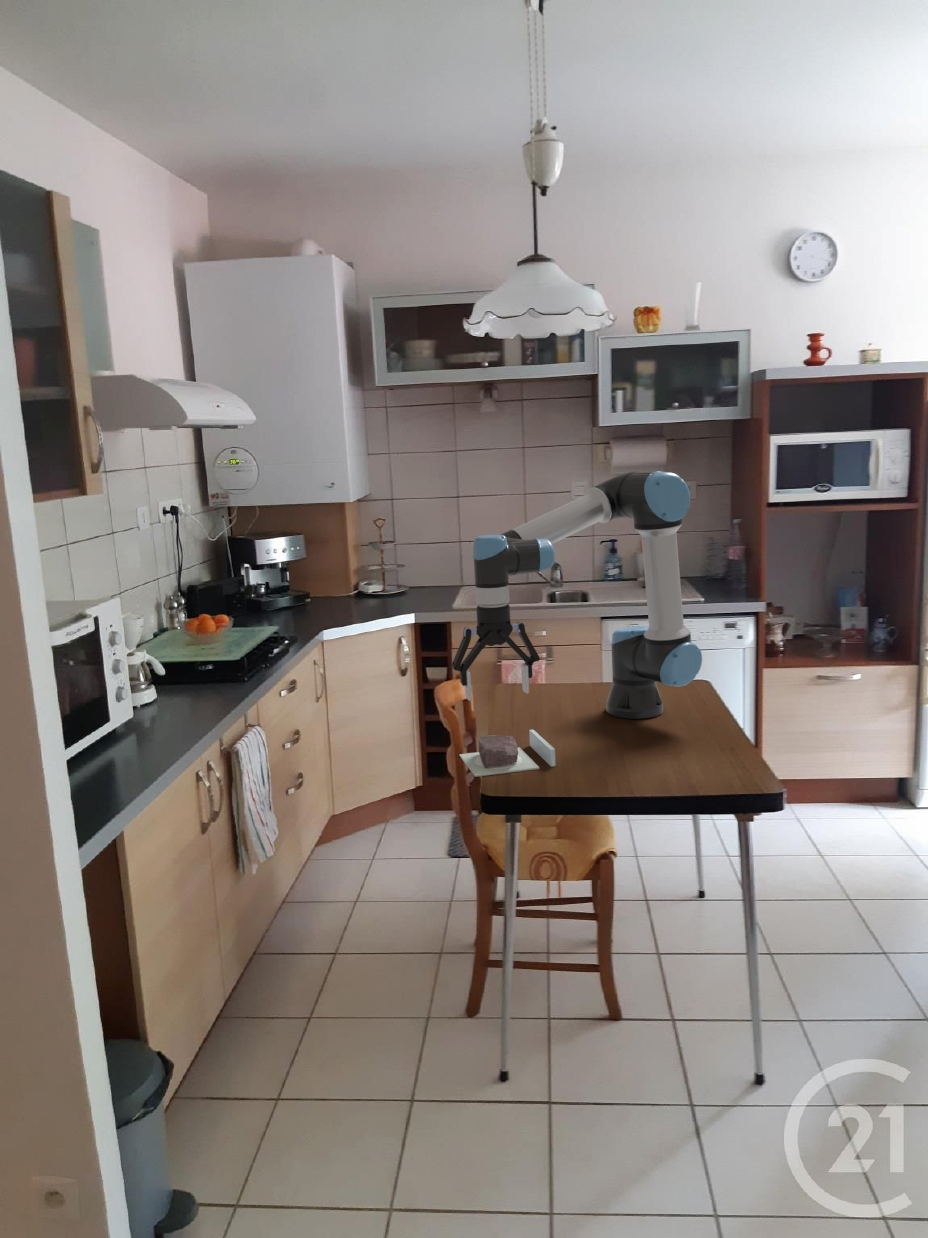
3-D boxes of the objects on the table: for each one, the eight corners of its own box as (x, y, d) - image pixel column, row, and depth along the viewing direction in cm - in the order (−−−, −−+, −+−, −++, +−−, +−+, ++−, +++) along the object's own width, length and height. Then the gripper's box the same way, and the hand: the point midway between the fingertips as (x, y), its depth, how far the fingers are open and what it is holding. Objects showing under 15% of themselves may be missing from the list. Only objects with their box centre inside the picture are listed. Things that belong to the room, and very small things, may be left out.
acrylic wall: (533, 745, 226) (533, 729, 225) (555, 766, 210) (555, 749, 210) (529, 745, 225) (529, 730, 225) (551, 766, 210) (550, 749, 209)
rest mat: (519, 749, 223) (519, 747, 223) (539, 768, 209) (539, 766, 209) (459, 756, 220) (459, 754, 220) (475, 776, 206) (475, 774, 205)
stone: (520, 767, 209) (519, 747, 208) (480, 770, 209) (479, 750, 208) (516, 750, 221) (515, 731, 220) (478, 752, 220) (477, 733, 219)
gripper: (540, 596, 214) (544, 685, 218) (435, 606, 209) (441, 697, 213) (550, 601, 207) (554, 693, 211) (442, 612, 201) (448, 706, 205)
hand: (497, 695), depth 212 cm, fingers open, 13 cm apart
